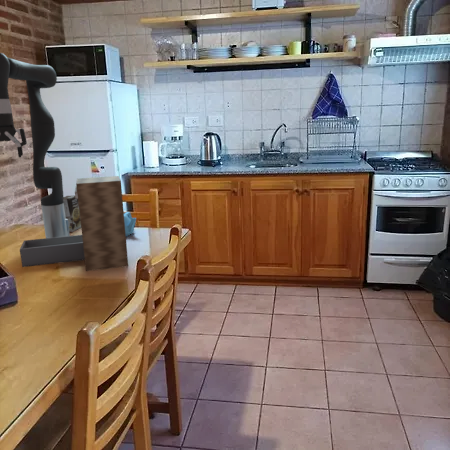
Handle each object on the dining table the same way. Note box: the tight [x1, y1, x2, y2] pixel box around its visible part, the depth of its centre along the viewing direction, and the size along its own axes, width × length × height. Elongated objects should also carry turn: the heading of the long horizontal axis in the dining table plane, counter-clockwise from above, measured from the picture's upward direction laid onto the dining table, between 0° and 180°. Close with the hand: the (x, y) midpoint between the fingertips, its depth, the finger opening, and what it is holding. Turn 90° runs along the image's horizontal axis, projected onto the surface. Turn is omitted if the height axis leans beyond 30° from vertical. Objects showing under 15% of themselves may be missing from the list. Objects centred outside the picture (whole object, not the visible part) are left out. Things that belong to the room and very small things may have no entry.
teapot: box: [124, 211, 137, 237], centre depth 203 cm, size 15×15×11 cm
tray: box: [19, 234, 85, 268], centre depth 173 cm, size 31×12×7 cm, turn 107°
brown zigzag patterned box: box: [74, 175, 129, 272], centre depth 162 cm, size 16×12×32 cm
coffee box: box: [63, 195, 81, 233], centre depth 213 cm, size 9×6×16 cm
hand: (7, 157), depth 161 cm, fingers open, 8 cm apart
